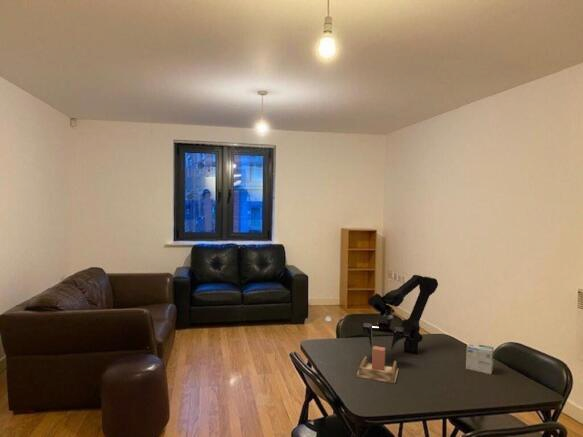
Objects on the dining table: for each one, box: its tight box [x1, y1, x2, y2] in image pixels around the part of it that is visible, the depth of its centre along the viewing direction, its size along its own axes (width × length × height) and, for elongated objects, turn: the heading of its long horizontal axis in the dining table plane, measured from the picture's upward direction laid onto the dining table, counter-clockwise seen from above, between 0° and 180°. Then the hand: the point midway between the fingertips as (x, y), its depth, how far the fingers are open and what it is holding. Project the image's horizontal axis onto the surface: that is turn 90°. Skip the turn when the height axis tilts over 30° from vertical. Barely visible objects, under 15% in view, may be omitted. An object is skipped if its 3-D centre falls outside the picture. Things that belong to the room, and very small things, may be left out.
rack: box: [356, 355, 399, 384], centre depth 173 cm, size 16×14×4 cm
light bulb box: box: [465, 342, 495, 375], centre depth 181 cm, size 11×7×11 cm, turn 58°
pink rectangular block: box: [371, 345, 386, 371], centre depth 173 cm, size 5×4×10 cm
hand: (381, 347), depth 180 cm, fingers open, 9 cm apart
